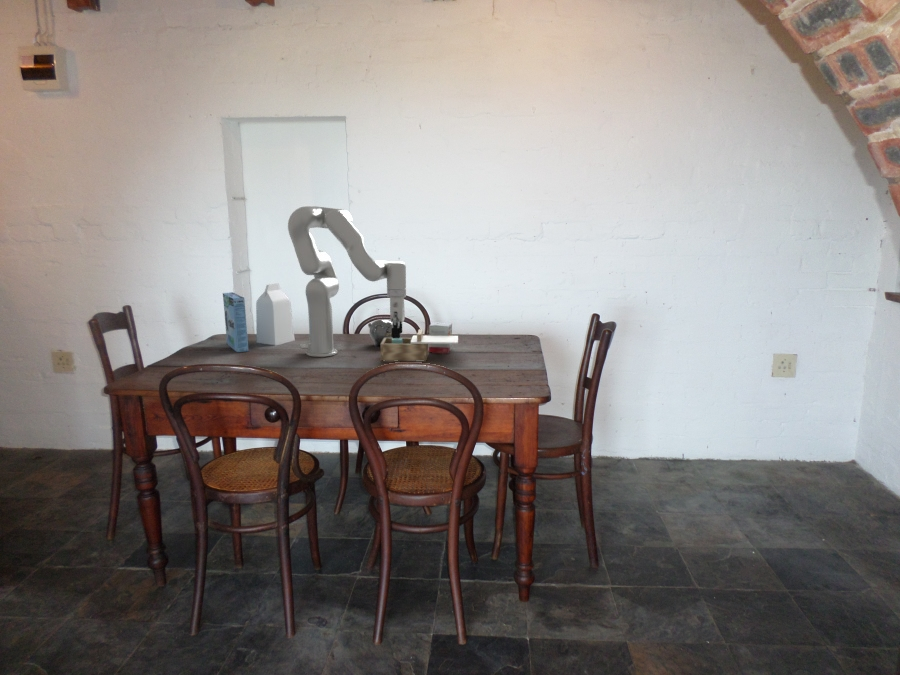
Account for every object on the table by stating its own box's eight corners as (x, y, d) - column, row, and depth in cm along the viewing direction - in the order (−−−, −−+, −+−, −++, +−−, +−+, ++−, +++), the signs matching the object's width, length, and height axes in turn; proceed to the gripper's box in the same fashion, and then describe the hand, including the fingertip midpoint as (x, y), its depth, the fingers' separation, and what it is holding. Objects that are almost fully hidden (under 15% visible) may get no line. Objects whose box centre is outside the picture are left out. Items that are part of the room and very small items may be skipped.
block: (392, 357, 253) (391, 340, 251) (392, 354, 257) (392, 338, 255) (402, 357, 253) (401, 340, 251) (402, 354, 257) (402, 338, 255)
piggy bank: (396, 349, 270) (395, 322, 268) (363, 346, 274) (363, 320, 272) (404, 343, 281) (404, 318, 278) (373, 341, 285) (373, 316, 282)
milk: (275, 345, 276) (272, 286, 271) (256, 342, 282) (253, 284, 277) (294, 340, 287) (291, 283, 281) (276, 337, 292) (273, 281, 287)
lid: (410, 343, 247) (410, 335, 246) (413, 337, 259) (412, 328, 259) (457, 344, 247) (457, 335, 246) (458, 337, 259) (458, 329, 258)
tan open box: (380, 361, 249) (380, 344, 248) (384, 354, 261) (384, 337, 259) (426, 361, 249) (426, 344, 247) (427, 354, 260) (427, 338, 259)
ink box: (448, 353, 262) (448, 325, 260) (428, 352, 264) (428, 325, 262) (452, 349, 271) (452, 322, 268) (432, 348, 272) (432, 321, 270)
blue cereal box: (248, 351, 265) (245, 297, 260) (236, 352, 262) (232, 298, 258) (237, 342, 281) (234, 291, 276) (225, 344, 279) (222, 292, 274)
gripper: (404, 296, 241) (404, 340, 244) (407, 290, 258) (408, 331, 261) (384, 296, 241) (385, 339, 245) (389, 290, 258) (390, 331, 261)
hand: (397, 335), depth 253 cm, fingers open, 9 cm apart
